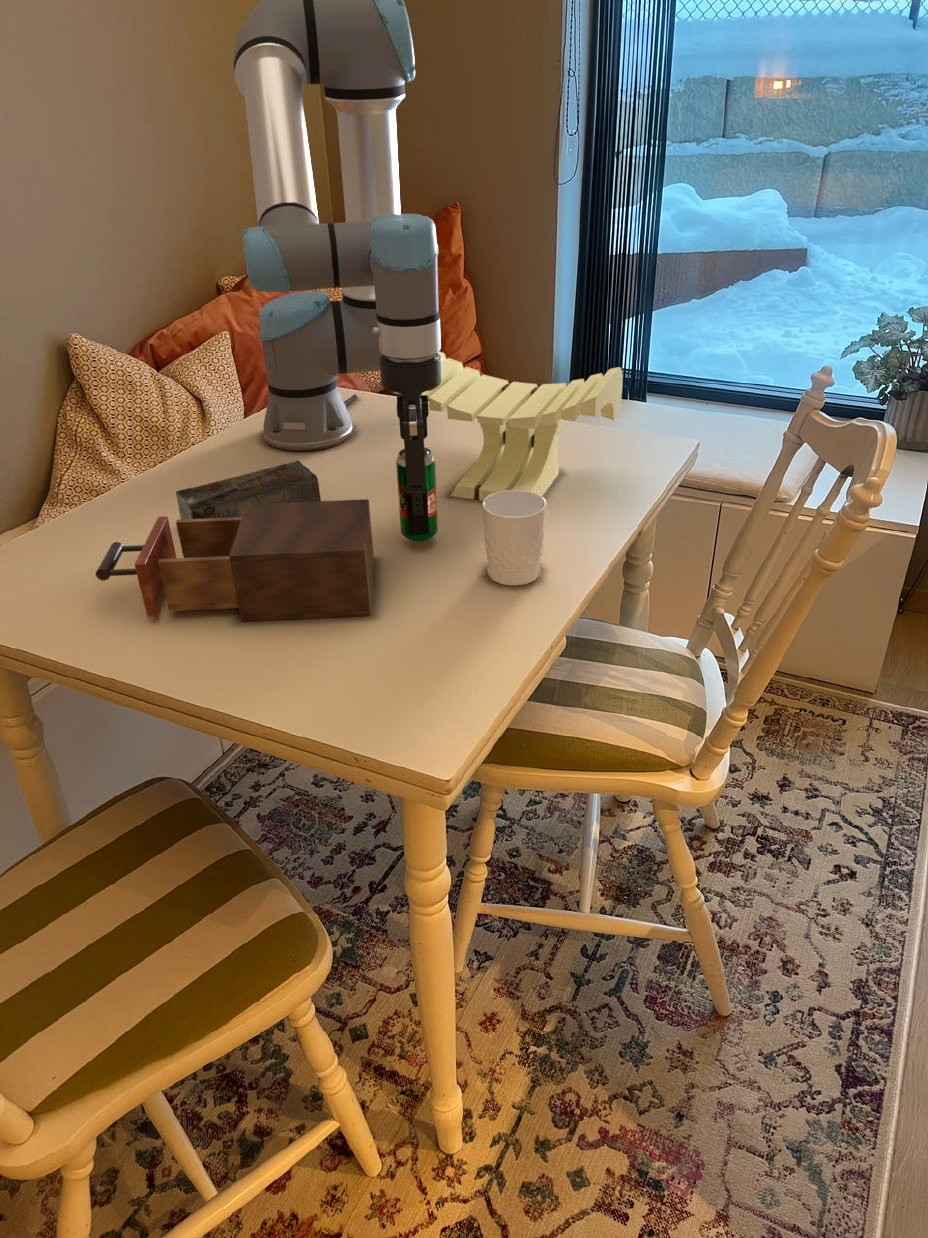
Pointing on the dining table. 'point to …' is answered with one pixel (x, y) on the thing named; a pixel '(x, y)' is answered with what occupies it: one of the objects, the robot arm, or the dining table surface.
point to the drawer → (182, 565)
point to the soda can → (430, 493)
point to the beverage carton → (249, 492)
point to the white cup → (514, 535)
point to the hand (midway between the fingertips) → (418, 522)
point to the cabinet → (303, 560)
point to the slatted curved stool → (518, 423)
